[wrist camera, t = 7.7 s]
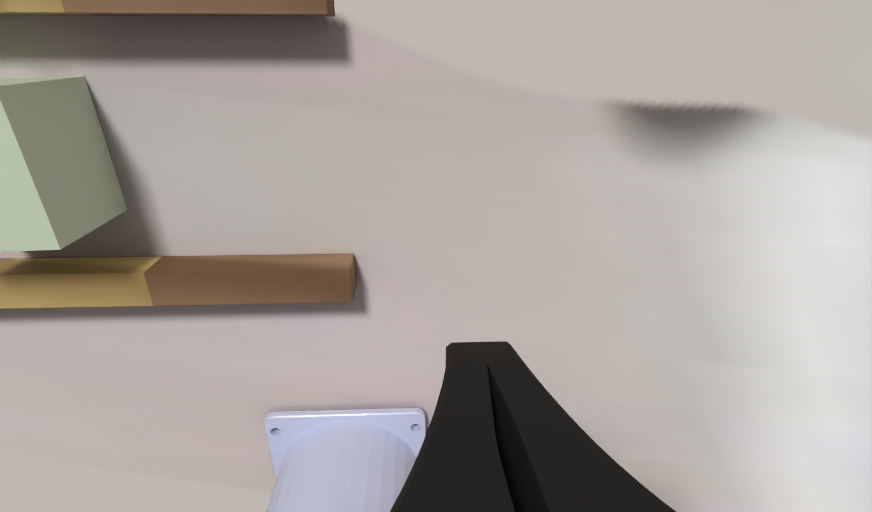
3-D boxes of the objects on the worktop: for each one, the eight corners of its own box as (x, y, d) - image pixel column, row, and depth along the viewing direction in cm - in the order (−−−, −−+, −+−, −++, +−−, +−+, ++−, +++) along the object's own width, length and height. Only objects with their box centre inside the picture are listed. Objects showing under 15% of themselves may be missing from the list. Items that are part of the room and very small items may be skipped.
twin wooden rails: (356, 284, 20) (351, 302, 19) (-206, 293, 19) (-253, 313, 18) (330, -36, 15) (322, -43, 14) (-437, -44, 14) (-527, -53, 13)
